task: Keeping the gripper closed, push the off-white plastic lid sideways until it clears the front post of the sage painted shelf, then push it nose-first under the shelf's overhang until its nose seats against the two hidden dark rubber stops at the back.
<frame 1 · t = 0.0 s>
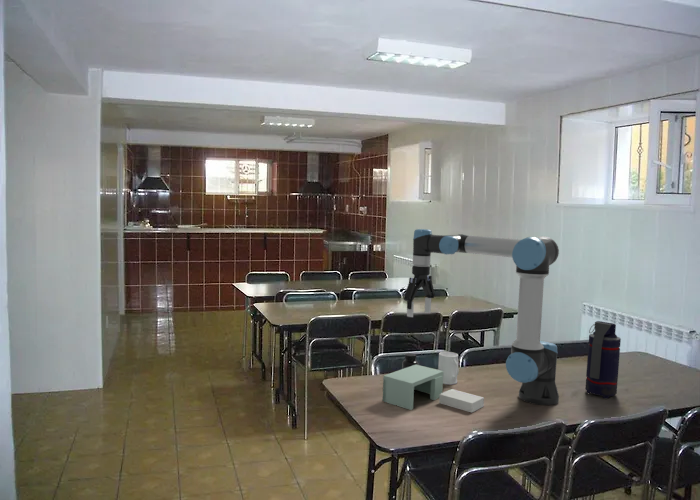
hand: (418, 314, 251), 28 cm above the table, fingers open, 13 cm apart
lid: (461, 404, 222), on the table
grenade: (599, 395, 240), on the table
supplement bottle: (409, 382, 247), on the table
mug: (448, 383, 249), on the table
shelf: (413, 398, 227), on the table
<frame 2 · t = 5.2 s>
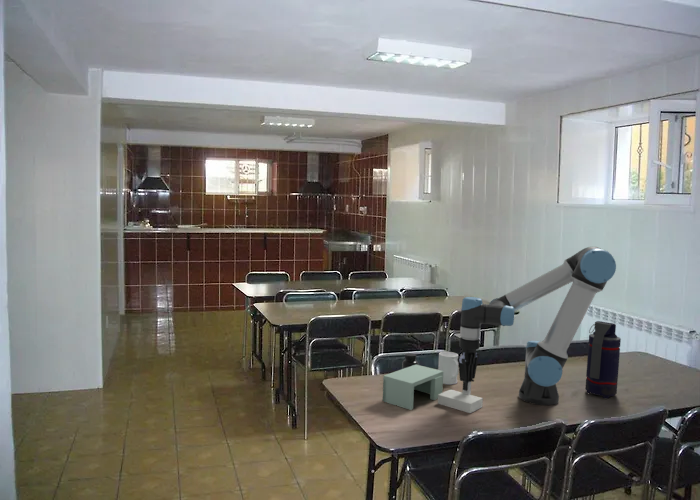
hand: (466, 397, 225), 2 cm above the table, fingers closed
lid: (459, 405, 221), on the table, touching gripper
everything else where it was.
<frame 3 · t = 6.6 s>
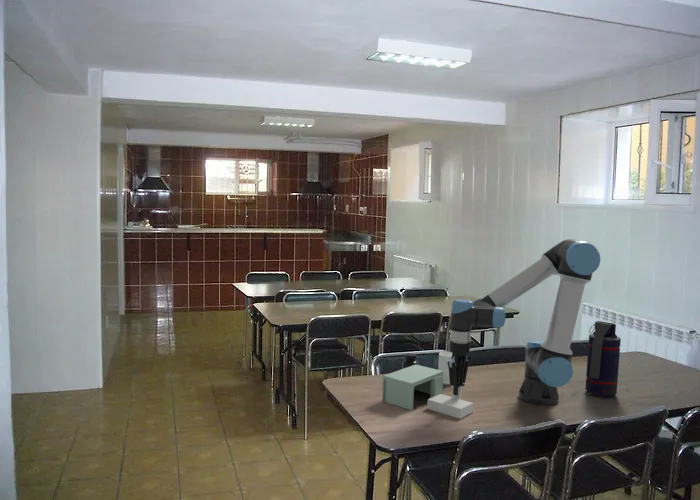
hand: (456, 402, 220), 2 cm above the table, fingers closed
lid: (449, 410, 216), on the table, touching gripper
everything else where it was.
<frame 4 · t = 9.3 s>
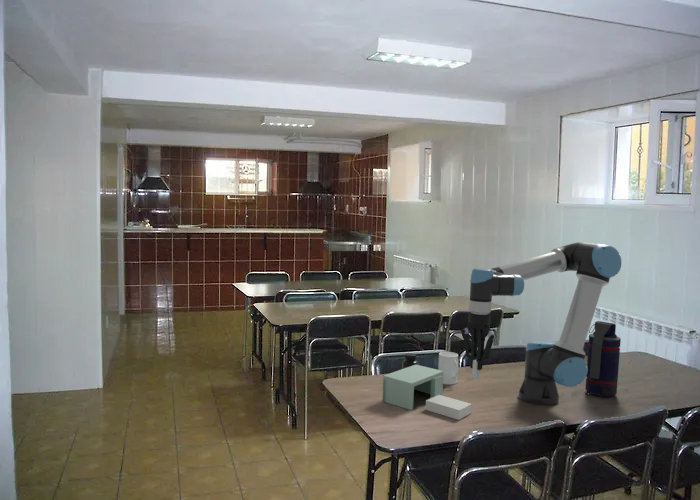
hand: (475, 378, 207), 15 cm above the table, fingers closed
lid: (448, 411, 215), on the table
everything else where it was.
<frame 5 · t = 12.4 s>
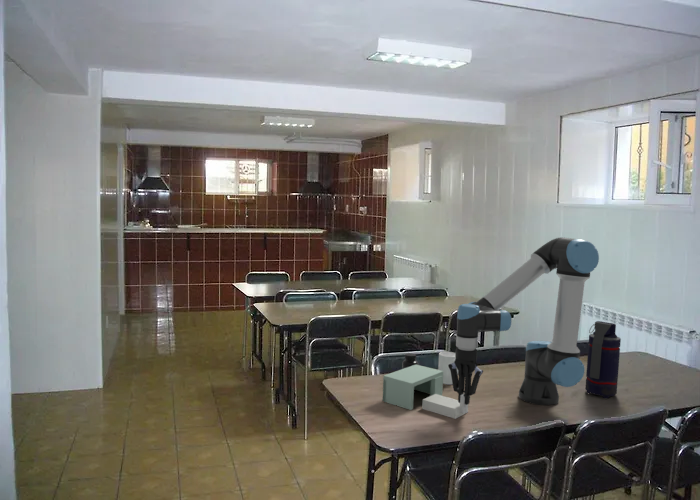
hand: (463, 412, 210), 1 cm above the table, fingers closed
lid: (444, 410, 215), on the table, touching gripper
everything else where it was.
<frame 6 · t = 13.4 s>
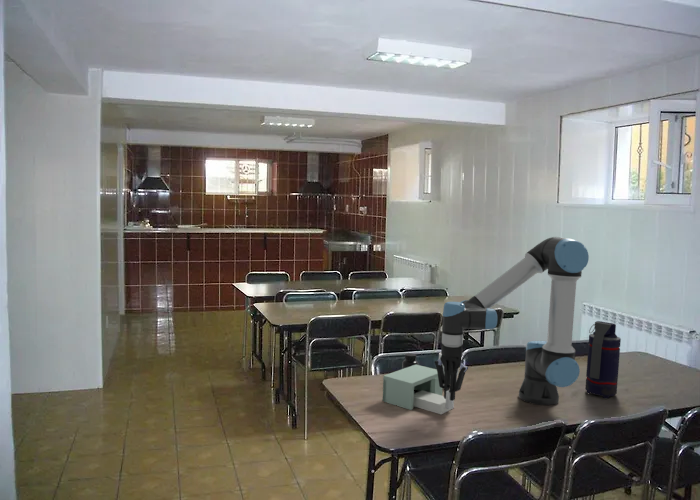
hand: (448, 408, 214), 1 cm above the table, fingers closed
lid: (431, 406, 219), on the table, touching gripper
everything else where it was.
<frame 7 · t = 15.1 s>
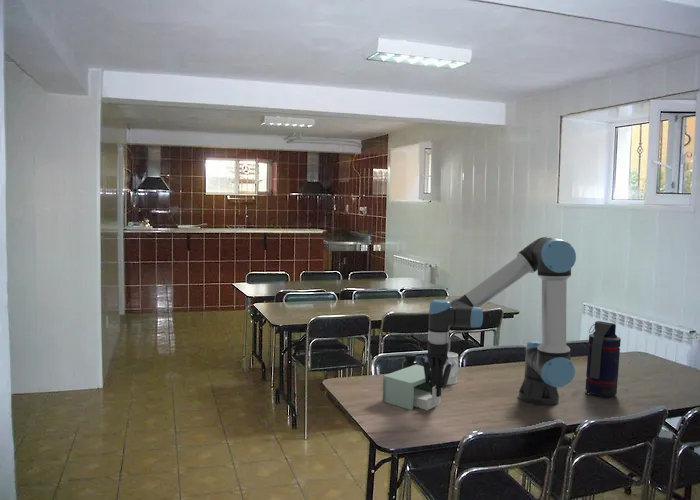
hand: (435, 404, 218), 1 cm above the table, fingers closed
lid: (418, 402, 223), on the table, touching gripper
everything else where it was.
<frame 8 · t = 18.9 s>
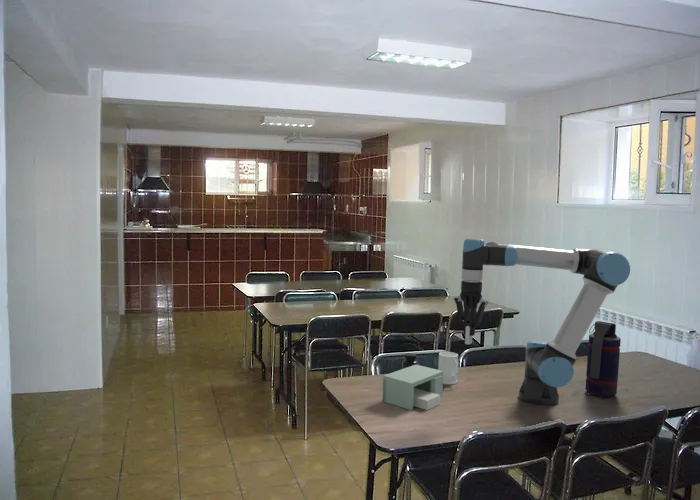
hand: (468, 343, 217), 24 cm above the table, fingers closed
lid: (418, 402, 223), on the table
everything else where it was.
at the end: lid 0.3 cm from the target spot on the shelf, point 0.0 cm above the shelf's base; lid tilted 0°; lid touching table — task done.
